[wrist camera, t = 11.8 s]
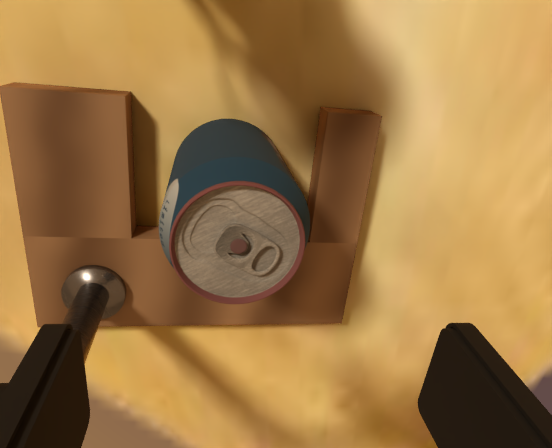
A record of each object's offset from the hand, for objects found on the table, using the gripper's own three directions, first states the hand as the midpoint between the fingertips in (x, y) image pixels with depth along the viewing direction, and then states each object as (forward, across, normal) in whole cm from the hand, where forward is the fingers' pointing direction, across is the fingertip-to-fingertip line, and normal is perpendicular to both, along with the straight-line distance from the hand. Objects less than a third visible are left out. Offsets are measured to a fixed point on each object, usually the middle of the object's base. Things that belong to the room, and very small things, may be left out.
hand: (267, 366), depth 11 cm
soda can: (+20, 0, +1) cm, 20 cm away
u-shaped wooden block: (+19, +2, +4) cm, 20 cm away
